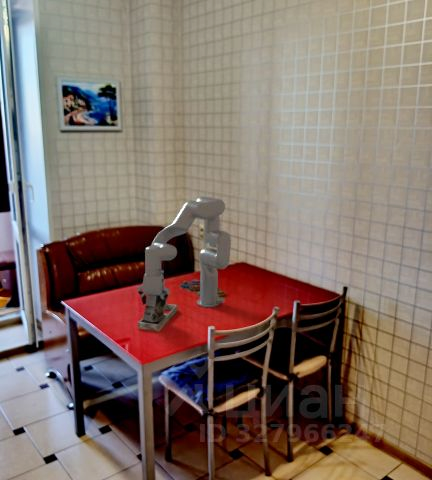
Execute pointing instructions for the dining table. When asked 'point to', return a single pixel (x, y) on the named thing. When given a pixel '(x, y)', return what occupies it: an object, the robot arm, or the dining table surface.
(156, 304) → the coffee box
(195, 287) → the gear puzzle
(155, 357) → the dining table surface
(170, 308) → the frame
